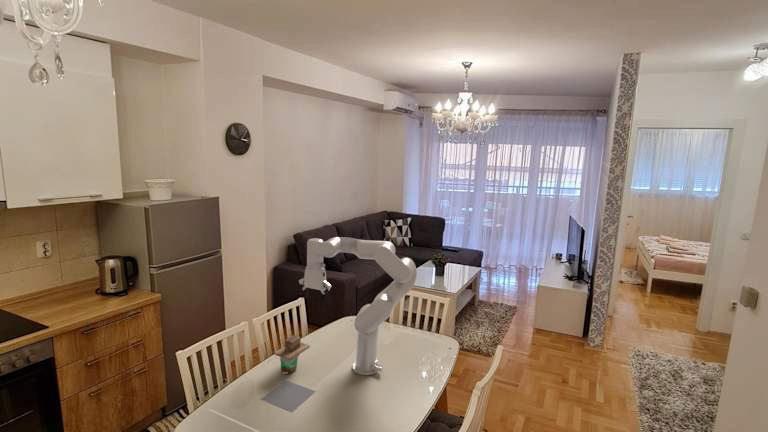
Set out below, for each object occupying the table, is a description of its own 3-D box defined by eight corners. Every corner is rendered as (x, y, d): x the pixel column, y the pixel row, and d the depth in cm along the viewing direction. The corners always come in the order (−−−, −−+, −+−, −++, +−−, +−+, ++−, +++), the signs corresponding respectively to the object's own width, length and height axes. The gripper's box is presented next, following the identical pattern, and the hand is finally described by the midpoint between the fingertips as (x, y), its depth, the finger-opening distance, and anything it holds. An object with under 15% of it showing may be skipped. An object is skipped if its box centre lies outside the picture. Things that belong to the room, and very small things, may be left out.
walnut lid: (309, 347, 190) (310, 335, 189) (290, 360, 178) (290, 347, 177) (294, 342, 194) (294, 330, 193) (274, 354, 182) (274, 342, 181)
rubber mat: (315, 392, 173) (315, 391, 173) (291, 413, 159) (292, 412, 159) (285, 381, 180) (285, 380, 179) (260, 400, 165) (260, 399, 165)
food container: (292, 379, 181) (293, 358, 180) (279, 376, 183) (280, 356, 181) (303, 365, 193) (304, 345, 192) (291, 363, 194) (291, 343, 193)
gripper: (335, 265, 190) (334, 300, 193) (303, 260, 197) (303, 293, 200) (327, 269, 184) (326, 305, 186) (294, 264, 190) (294, 298, 193)
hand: (314, 299), depth 193 cm, fingers open, 9 cm apart
